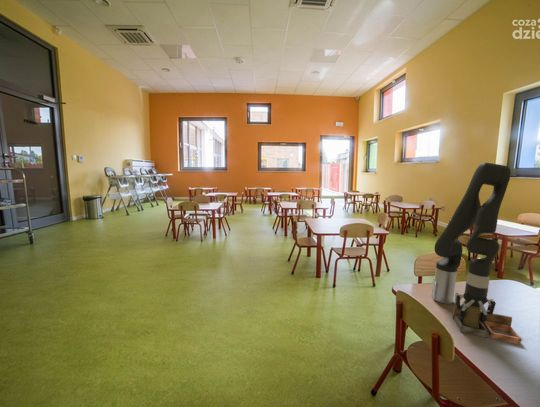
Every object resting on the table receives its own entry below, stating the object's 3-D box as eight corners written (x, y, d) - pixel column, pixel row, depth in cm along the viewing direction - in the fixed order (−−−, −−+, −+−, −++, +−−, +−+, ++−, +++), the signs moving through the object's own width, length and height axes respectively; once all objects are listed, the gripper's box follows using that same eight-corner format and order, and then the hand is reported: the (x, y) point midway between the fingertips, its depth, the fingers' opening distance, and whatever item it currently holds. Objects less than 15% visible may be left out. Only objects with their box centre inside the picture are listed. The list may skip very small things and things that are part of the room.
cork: (458, 324, 118) (461, 301, 116) (470, 324, 118) (474, 301, 116) (469, 333, 112) (473, 309, 110) (482, 332, 112) (486, 308, 111)
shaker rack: (459, 331, 112) (460, 318, 112) (452, 317, 123) (454, 306, 122) (521, 345, 105) (524, 331, 104) (508, 329, 115) (511, 316, 114)
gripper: (459, 283, 111) (454, 320, 113) (502, 290, 106) (495, 328, 108) (454, 277, 118) (450, 311, 120) (494, 283, 113) (488, 319, 115)
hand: (471, 319), depth 114 cm, fingers open, 6 cm apart
